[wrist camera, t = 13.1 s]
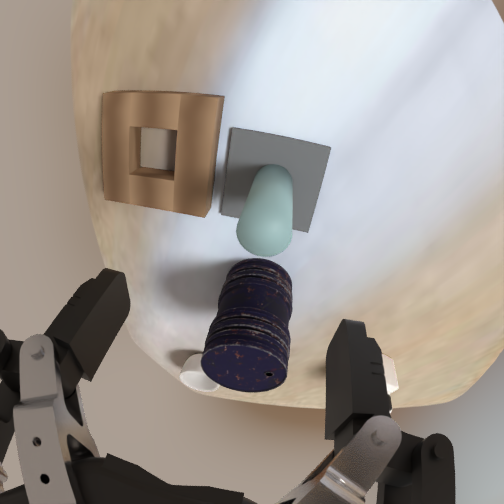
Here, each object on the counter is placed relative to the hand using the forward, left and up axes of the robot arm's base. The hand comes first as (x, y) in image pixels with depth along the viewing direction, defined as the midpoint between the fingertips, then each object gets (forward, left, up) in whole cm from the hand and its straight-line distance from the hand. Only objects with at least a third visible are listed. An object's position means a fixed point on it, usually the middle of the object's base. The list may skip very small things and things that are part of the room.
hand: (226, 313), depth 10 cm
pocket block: (+13, +2, -26) cm, 29 cm away
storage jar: (-2, +20, -26) cm, 33 cm away
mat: (-1, +4, -26) cm, 26 cm away
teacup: (+4, +42, -26) cm, 50 cm away
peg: (-1, +4, -25) cm, 25 cm away
